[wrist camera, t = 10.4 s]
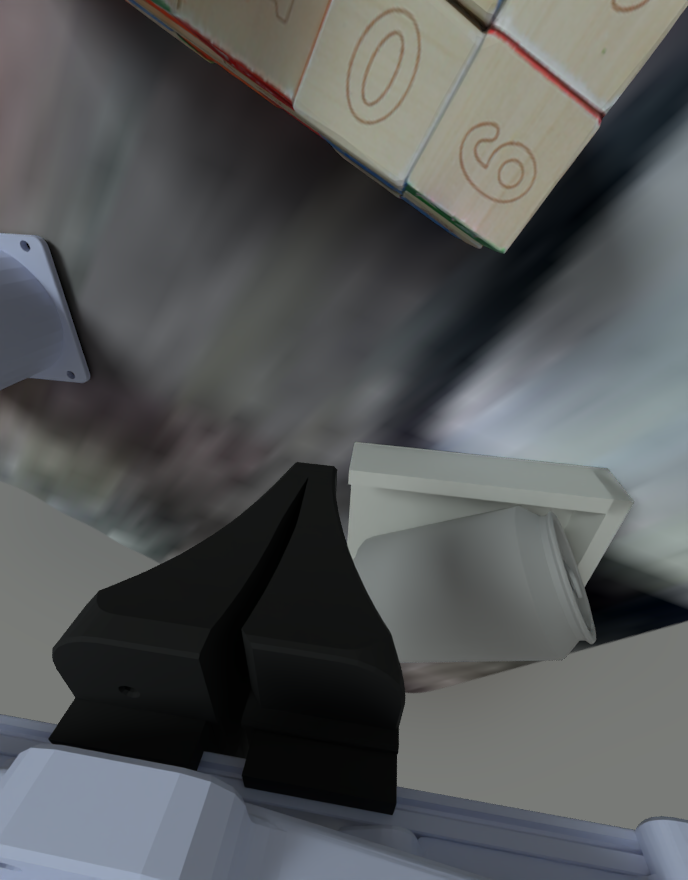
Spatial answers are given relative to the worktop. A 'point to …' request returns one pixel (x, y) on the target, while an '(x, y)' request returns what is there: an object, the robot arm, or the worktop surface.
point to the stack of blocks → (437, 88)
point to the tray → (481, 495)
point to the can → (478, 589)
